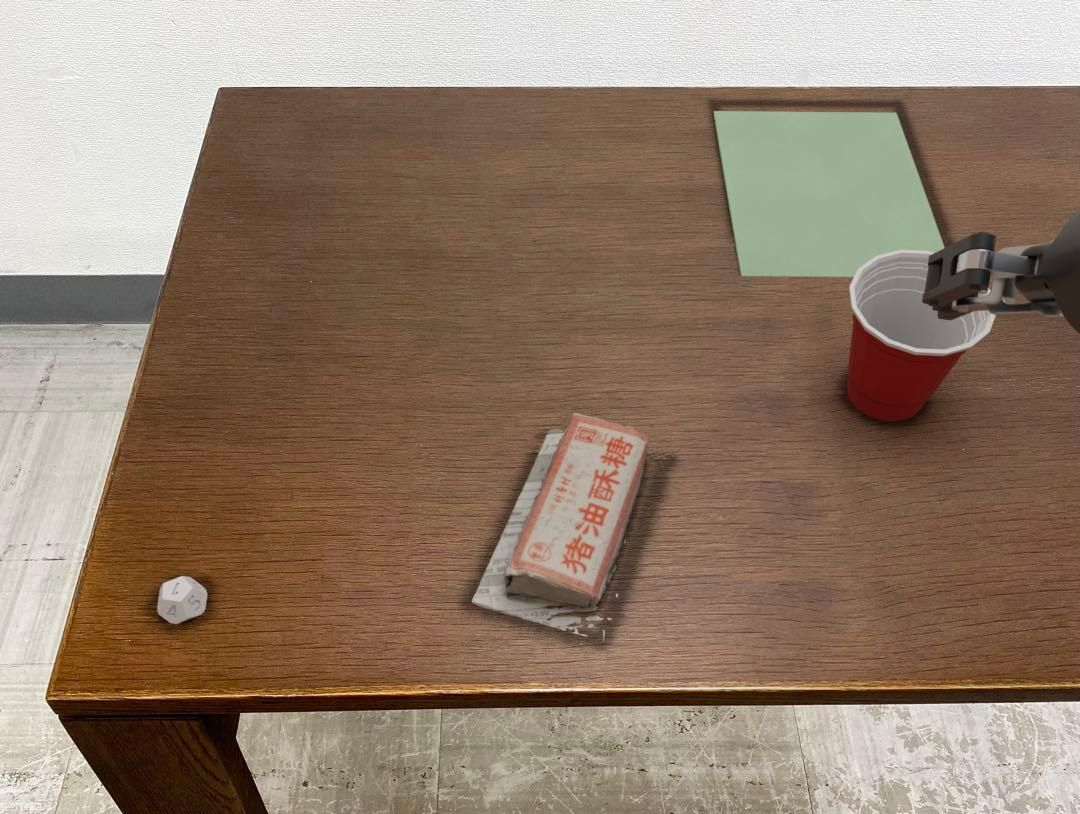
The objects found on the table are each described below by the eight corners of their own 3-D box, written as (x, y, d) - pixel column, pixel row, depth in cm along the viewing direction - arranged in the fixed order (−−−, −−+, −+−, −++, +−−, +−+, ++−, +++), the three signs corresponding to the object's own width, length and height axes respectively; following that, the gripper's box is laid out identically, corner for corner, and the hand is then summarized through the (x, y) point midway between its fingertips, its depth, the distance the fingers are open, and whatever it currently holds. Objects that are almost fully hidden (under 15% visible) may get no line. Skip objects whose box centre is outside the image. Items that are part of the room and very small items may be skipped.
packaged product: (549, 396, 81) (673, 427, 79) (549, 438, 85) (666, 468, 83) (467, 576, 70) (607, 616, 69) (470, 614, 74) (603, 653, 72)
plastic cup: (808, 440, 85) (843, 329, 75) (822, 351, 91) (857, 238, 81) (943, 467, 83) (997, 357, 73) (948, 375, 89) (999, 263, 79)
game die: (220, 594, 75) (209, 571, 73) (202, 637, 73) (190, 614, 71) (174, 588, 76) (162, 564, 73) (155, 630, 73) (142, 607, 71)
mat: (895, 115, 113) (896, 112, 113) (965, 312, 94) (966, 308, 94) (713, 114, 113) (713, 110, 113) (745, 310, 94) (746, 306, 94)
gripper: (1377, 180, 43) (1154, 261, 59) (1033, 136, 43) (905, 229, 59) (1344, 361, 43) (1131, 392, 59) (1004, 317, 43) (885, 360, 60)
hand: (1019, 311), depth 59 cm, fingers open, 8 cm apart
